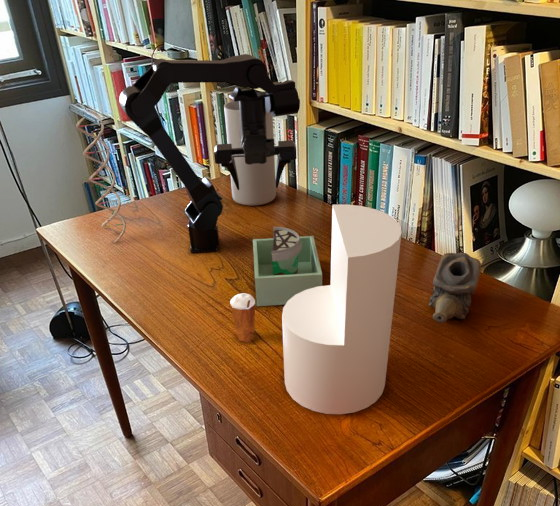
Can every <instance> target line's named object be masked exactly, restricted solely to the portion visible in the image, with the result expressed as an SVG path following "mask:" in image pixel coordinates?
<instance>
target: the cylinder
mask: <svg viewBox="0 0 560 506" xmlns="http://www.w3.org/2000/svg"><path fill="white" fill-rule="evenodd" d="M331 207H332V208H331V245H330V246H331V247H330V248H331V249H330V250H331V252H330V284H328V285H322V286H318V287H314V288H310V289H307V290H304V291H302V292H300V293H298V294H296V295H294V296H293V297H292V298H291V299H290V300H288V301H287V303H286V304H285V305H284V306H283V307H282V313H281V325H282V327H281V329H282V349H283V352H282V353H283V375H284V377H283V378H284V386H285V390H286V392H287V393H288V395H289V396H290V397H291V399H292V400H293V401H295V402H296V403H297V404H298V405H300V406H301V407H303V408H306V409H308V410H310V411H312V412H317V413H321V414H325V415H345V414H351V413H356V412H359V411H362V410H364V409H367V408H369V407H371V406H372V405H373V404H375V403H376V402H377V401H378V400H379V399H380V397H381V396H382V395H383V392H384V390H385V386H386V379H387V378H386V377H387V369H388V360H389V352H390V351H389V350H390V343H391V334H392V333H391V332H392V325H393V314H394V306H395V305H394V304H395V297H396V287H397V278H398V269H399V262H400V261H399V260H400V251H401V243H402V242H401V241H402V233H403V232H402V228H401V225H400V223H399V222H398V221H397V220H396V219H395V218H394V217H392V216H391V215H390V214H388V213H387V212H384V211H381V210H378V209H376V208H372V207H368V206H363V205H355V204H332V206H331Z"/></svg>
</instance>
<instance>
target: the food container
mask: <svg viewBox="0 0 560 506" xmlns="http://www.w3.org/2000/svg"><path fill="white" fill-rule="evenodd" d="M272 230H273V238H274V239H273V251H272V265H273V276H275V275H291V274H298V257H299V252H300V251H301V249H302V244H301V240H300V237H301V236H299V234H298V232H296V231H295V230H293V229H291V228H288V227H284V226H273V227H272Z"/></svg>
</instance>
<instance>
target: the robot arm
mask: <svg viewBox="0 0 560 506" xmlns="http://www.w3.org/2000/svg"><path fill="white" fill-rule="evenodd" d="M173 83H175V84H176V83H177V84H180V83H183V84H184V83H185V84H186V83H196V84H197V83H201V84H203V83H205V84H206V83H224V84H228V85H234V86H235V88H234V89H233V91H232V92H231V93H230V94H229V95H228V98H229V99H230V100H231V101H235V102H237V101H239V106H240V119H241V132H242V148H232V145H231V144H227V143H218V144H216V145H215V146H214V150H213V155H214V156H213V157H214V163H215V165H216V164H217V165H221V166H220V167H222V168H226V169H227V170H228V172H229V175H230V174H231V176H232V178H233V180H234V183H235V185H236V187H237V190H239V180H238V175H237V170H236V164H235V159H234V157H245V163H246V164H248V165H251V164H256V163H260V164H264V163H266V162H267V157H271V156H274V157H275V156H276V164H275V183H276V189H278V188H279V185H280V182H281V179H282V173H283V171H284V169H285V167H286V165H287V164H291V163H292V161H295V160H297V146H296V145H297V144H296V143H295V141H294V140H292V139H291V140H278V142H277V145H275V138H274V139H267V127H266V111H267V112H268V113H270V114H271V115H272V116H273V118H276V117H284V116H290V115H295V114H298V113H299V111H300V106H301V99H300V97H299V92H298V90H297V88H296V82H295V81H294V80H292V79H287V80H285V81H282V82H273V80H272V79H271V78H270V77H269V74H268V69H267V66H266V63H265V62H264V61H263V60H262V59H260V58H258V57H256V56H253V55H251V54H249V53H243V54H238V55H233V56H229V57H227V58H224V59H220V60H206V59H205V60H202V59H201V60H200V59H197V60H196V59H195V60H194V59H183V60H182V59H165V58H157V59H156V60H154V61H153V63H152V64H151V66H150V67H149V68H148V69H147V70H146V71H145V72H144V73H142V75H140V76H139V77H138V78H137V79H136V80H135V81H134V83H132V85H128V86H127V87H125V88H123V89H122V91H121V92H120V95H119V106H120V107H121V109H122V111H123V112H124V113H125V115H126V116H127V117H128V118H129V120H130V121H131V122H132V123H133V124H134V125H136V126H137V128H138V129H140V130H141V131H142V132H143V133H144V134H145V135H146V136H147V137H148V138H149V139H150V140H151V142H152V143H153V145H154V146H155V147H156V149H157V150H158V151H159V153H160V154H161V156H162V157H163V158H164V159H165V161H166V162H167V163H168V165H169V166H170V168H171V169H172V171H173V172H174V174H176V176H177V177H178V179H179V181H181V183H182V185H183V187H184V189H185V191H186V194H187V196H188V198H189V200H190V203H189V204H188V205H187V207H186V208H185V209H184V210H183V213H184V214H185V216H186V218H187V220H188V224H187V230H188V236H189V242H190V249H189V250H190V253H191V254H196V253H214V252H218V247H219V246H220V233H219V225H218V221H219V217H220V216H221V215H222V213H223V208H224V205H223V202H222V200H223V197H222V196H221V195H220V194H219V193H218V191H217V190H216V188H215V186H214V184H213V183H212V182H211V181H210V180H209V179H208V178H207V177H206V176H205V177H204V178H202V179H200V178H199V176H198V175H197V174H196V171H194V169H193V168H192V166H191V165H190V163H189V162H188V161H187V159H186V157H184V155H183V153H182V152H181V150H180V149H179V148H178V146H177V145H176V143H175V141H173V139H172V137H171V136H170V135H169V133H168V132H167V130H166V129H165V127H164V126H163V125H164V124H163V122H162V120H161V118H160V115H159V113H158V111H157V109H156V106H157V104H159V102H160V101H161V99H162V97H163V96H164V94H165V93H166V91H167V89H168V87H169V86H170V85H171V84H173ZM241 88H245V89H241ZM246 88H247V89H246ZM257 89H260V90H263V91H256V90H257ZM231 176H230V177H231Z"/></svg>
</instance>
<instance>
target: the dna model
mask: <svg viewBox="0 0 560 506" xmlns="http://www.w3.org/2000/svg"><path fill="white" fill-rule="evenodd" d="M89 113H90V114H92V115H94V117H96V118H97V120H98V121H99V122H96V123H91V124H82V125H80V124H81V123H82V122H83V121H84V120H85V116H83V117H82V118H81V119H79V120H78V121H77V123H76V125H74V127H75V128H76V129H77V130H78V131H79V132H81V133H83V134H84V135H87V136H89V137H90V138H93V141H92V142H91V143H90V144H89V145H88V146H87V147H86V148H85V149H84V151H82V155H83V156H84V157H85V158H86V159H89V160H91V161H93V162H95V163H98V164H100V166H99V167H98V168H97V169H96V170H95V171H94V172H93V173H92V174H91V175H90V176H89V177H88V178H87V179H88V180H89V182H91V183H93V184H95V185H97V186H100V187H102V188H104V189H105V191H104V193H103V195H102V196H100V197H99V198H98V199H97V200H96V201H95V205H96V206H97V207H99V208H101V209H104V210H108V211H110V212H111V215H110V216H109V218H108V219H106V220H105V221H104V222H103V223H102V224H101V225H100V228H102V229H103V230H108V231H110V232H113V233H116V234H119V231H118V230H115V229H113V228H110V227H115V226H123V227H122V231H121V233H120V234H119V236H118V237H117V238H116V239H115V240H114V241H113V242H114V243H115V244H116V243H117V242H119V241H120V240H121V238H122V237H123V236H124V234H125V233H126V228H127V223H126V220H125V218H124V217H123V215H122V214H120V213H119V212H120V210H121V207H122V202H121V197H120V195H119V194H118V193H117V192H116V191H115V190H114V186H115V184H116V174H115V172H114V170H113V169H112V167H110V166H109V165H107V163H109V160H110V156H111V152H110V150H111V148H110V147H109V146H108V144H107V143H106V142H105V141H104V140H102V139H101V138H102V135H103V133H104V129H105V125H104V121H103V119H102V118H101V116H100V115H98V113H97V112H94V111H93V110H91V109H90V110H89ZM99 125H100V131H99V132H98V135H94V134H92V133H90V132H87V131H86V130H84V129H82V128H83V127H88V126H99ZM97 142H100V143H101V145H102V146H104V148H105V149H104V150H98V151H97V150H96V152H95V151H89V150H90V149H91V148H92V147H93V146H95V144H96V143H97ZM88 151H89V152H88ZM103 152H106V157H105V161H100V160H98V159H96V158H94V156H89V155H90V154H95V153H103ZM104 168H105V169H106V170H107V171H108V172H110V173H111V175H105V176H103V179H108V178H112V183H111V184H110V186H108V185H105V184H103V183H100V182H99V181H96V180H100V179H101V177H95V176H97V175H98V174H99V173H100V172H101V171H102V170H103V169H104ZM94 177H95V178H94ZM110 193H112V194H114V196H115V197H116V199H114V200H110V201H109V200H108V201H102V200H104V198H106V197H107V196H108V195H109V194H110ZM114 202H118V204H117V207H116V210H115V209H113V208H110V207H108V206H105V205H102V204H107V203H114ZM116 216H118V217H119V218H120V219H121V221H122V223H116V224H109V225H107V224H108V223H110V222H111V221H112V220H113V219H114V218H115V217H116Z"/></svg>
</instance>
